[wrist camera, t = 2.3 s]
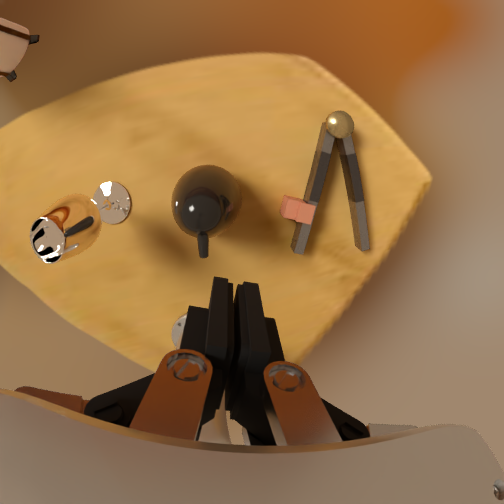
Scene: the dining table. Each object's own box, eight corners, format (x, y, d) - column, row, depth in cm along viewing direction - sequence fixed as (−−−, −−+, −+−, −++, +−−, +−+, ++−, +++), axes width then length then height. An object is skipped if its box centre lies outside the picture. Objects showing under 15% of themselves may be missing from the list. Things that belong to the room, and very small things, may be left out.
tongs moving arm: (362, 243, 48) (370, 249, 45) (355, 245, 48) (362, 251, 45) (341, 124, 40) (348, 123, 37) (332, 125, 40) (339, 124, 37)
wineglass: (134, 184, 42) (72, 212, 23) (128, 228, 44) (72, 280, 26) (95, 177, 40) (22, 202, 22) (91, 220, 43) (25, 264, 24)
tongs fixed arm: (311, 250, 48) (317, 259, 44) (288, 246, 48) (292, 254, 44) (346, 118, 40) (356, 116, 36) (322, 110, 39) (330, 106, 35)
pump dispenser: (182, 228, 45) (160, 265, 31) (176, 166, 41) (148, 176, 27) (242, 224, 46) (247, 259, 31) (239, 161, 42) (243, 167, 28)
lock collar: (303, 217, 46) (310, 224, 42) (279, 212, 45) (284, 218, 41) (308, 200, 45) (315, 206, 41) (284, 195, 44) (289, 199, 40)
